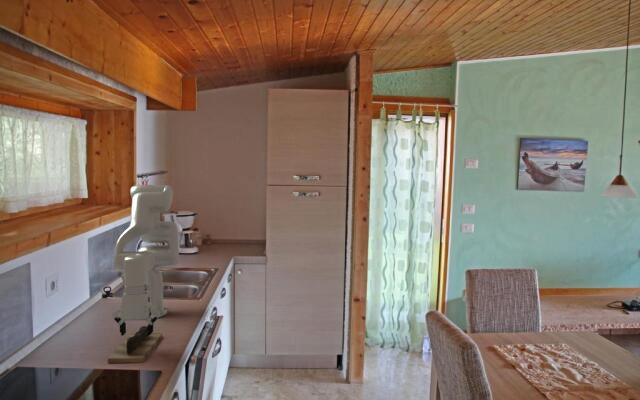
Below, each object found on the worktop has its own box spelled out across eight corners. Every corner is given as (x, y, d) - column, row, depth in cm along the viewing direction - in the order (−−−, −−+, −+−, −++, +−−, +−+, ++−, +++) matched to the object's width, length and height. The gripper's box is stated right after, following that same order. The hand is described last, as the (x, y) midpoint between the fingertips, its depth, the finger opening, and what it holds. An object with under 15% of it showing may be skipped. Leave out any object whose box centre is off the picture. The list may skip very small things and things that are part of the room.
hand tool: (140, 335, 186) (140, 323, 186) (150, 335, 186) (150, 323, 186) (119, 355, 167) (119, 342, 167) (131, 355, 167) (130, 342, 167)
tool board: (131, 337, 188) (131, 333, 188) (162, 336, 189) (162, 333, 189) (107, 362, 164) (107, 358, 164) (143, 362, 165) (143, 357, 165)
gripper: (162, 286, 179) (163, 330, 181) (115, 286, 178) (116, 330, 180) (156, 292, 171) (157, 337, 173) (107, 292, 171) (109, 338, 172)
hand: (136, 334), depth 176 cm, fingers open, 9 cm apart
